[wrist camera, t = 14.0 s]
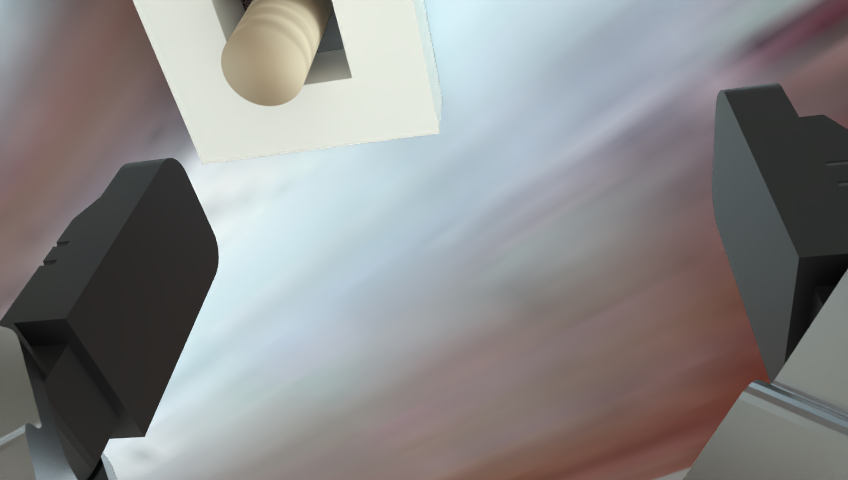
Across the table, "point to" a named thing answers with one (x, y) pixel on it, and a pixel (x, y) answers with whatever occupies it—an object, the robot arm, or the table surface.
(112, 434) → the robot arm
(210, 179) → the table surface
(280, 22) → the cream ribbed cylinder
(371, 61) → the socket
